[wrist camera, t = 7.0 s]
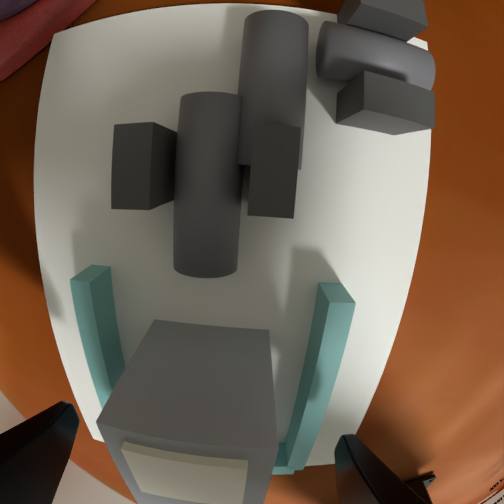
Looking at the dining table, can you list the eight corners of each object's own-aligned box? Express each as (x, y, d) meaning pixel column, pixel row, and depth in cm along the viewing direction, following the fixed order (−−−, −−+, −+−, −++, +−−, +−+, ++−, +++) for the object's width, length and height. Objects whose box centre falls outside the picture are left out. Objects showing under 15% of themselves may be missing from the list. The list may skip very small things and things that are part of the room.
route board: (337, 452, 13) (348, 496, 10) (98, 429, 13) (79, 467, 10) (416, 48, 8) (462, 20, 4) (64, 39, 7) (18, 15, 4)
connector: (256, 423, 11) (257, 526, 6) (166, 413, 11) (137, 510, 6) (269, 329, 10) (279, 458, 5) (154, 319, 10) (91, 429, 5)
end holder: (298, 450, 12) (301, 473, 10) (129, 433, 12) (120, 454, 10) (342, 283, 9) (355, 303, 8) (91, 264, 9) (69, 279, 8)
